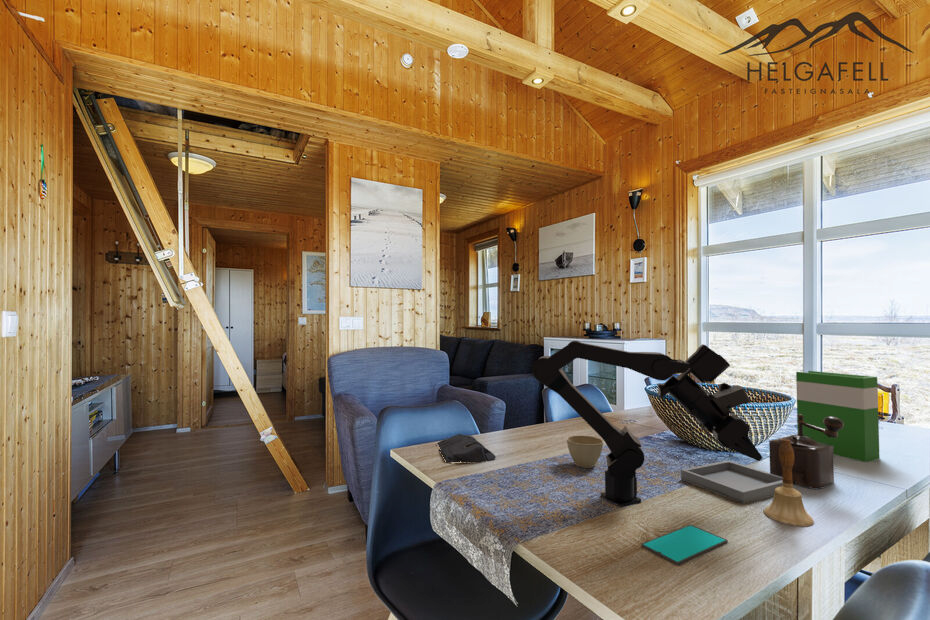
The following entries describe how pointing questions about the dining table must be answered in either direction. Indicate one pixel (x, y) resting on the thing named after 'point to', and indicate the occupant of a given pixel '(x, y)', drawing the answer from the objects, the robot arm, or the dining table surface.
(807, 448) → the manual coffee grinder
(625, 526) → the dining table surface
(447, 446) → the dark slate chunk
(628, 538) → the dining table surface
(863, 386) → the hardback book
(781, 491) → the hand bell
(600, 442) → the flower pot
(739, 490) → the tray
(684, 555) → the smartphone
